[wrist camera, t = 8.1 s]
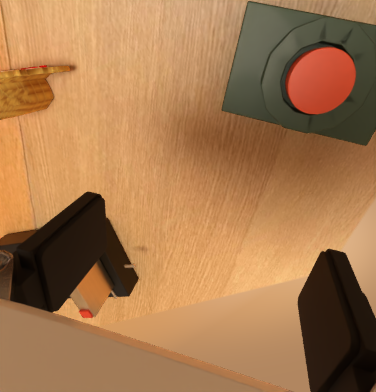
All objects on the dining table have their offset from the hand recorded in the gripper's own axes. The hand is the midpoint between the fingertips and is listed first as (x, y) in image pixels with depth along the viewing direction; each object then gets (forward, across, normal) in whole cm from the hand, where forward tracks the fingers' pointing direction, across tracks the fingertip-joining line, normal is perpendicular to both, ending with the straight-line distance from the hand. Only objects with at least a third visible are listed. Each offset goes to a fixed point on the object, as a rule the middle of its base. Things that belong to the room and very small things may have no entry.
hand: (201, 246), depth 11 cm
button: (+11, -4, -6) cm, 13 cm away
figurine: (+14, +21, -2) cm, 25 cm away
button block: (+14, -4, -6) cm, 16 cm away
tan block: (+11, +13, +17) cm, 24 cm away
